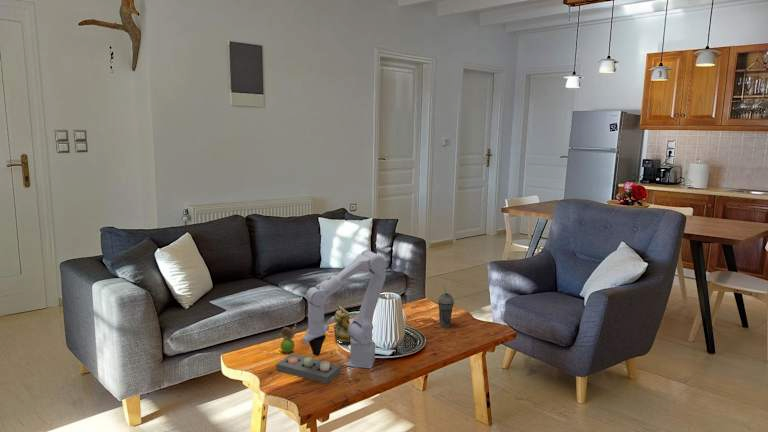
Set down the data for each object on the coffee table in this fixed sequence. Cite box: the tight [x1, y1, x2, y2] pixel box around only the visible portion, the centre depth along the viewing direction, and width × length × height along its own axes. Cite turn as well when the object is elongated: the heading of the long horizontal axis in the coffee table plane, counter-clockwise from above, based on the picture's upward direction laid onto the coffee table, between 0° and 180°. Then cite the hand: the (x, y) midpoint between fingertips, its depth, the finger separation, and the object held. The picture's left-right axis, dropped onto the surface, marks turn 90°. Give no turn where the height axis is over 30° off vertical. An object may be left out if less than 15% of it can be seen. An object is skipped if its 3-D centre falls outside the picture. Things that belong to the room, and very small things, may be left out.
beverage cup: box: [437, 283, 455, 329], centre depth 245 cm, size 7×7×20 cm
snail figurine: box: [280, 323, 297, 353], centre depth 216 cm, size 5×6×12 cm
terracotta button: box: [288, 357, 298, 365], centre depth 204 cm, size 4×4×3 cm
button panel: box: [276, 353, 342, 385], centre depth 201 cm, size 22×10×2 cm, turn 65°
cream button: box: [320, 360, 330, 373], centre depth 198 cm, size 4×4×3 cm
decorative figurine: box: [333, 305, 351, 342], centre depth 228 cm, size 10×8×15 cm
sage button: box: [304, 356, 314, 369], centre depth 201 cm, size 4×4×3 cm
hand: (316, 354), depth 199 cm, fingers closed
